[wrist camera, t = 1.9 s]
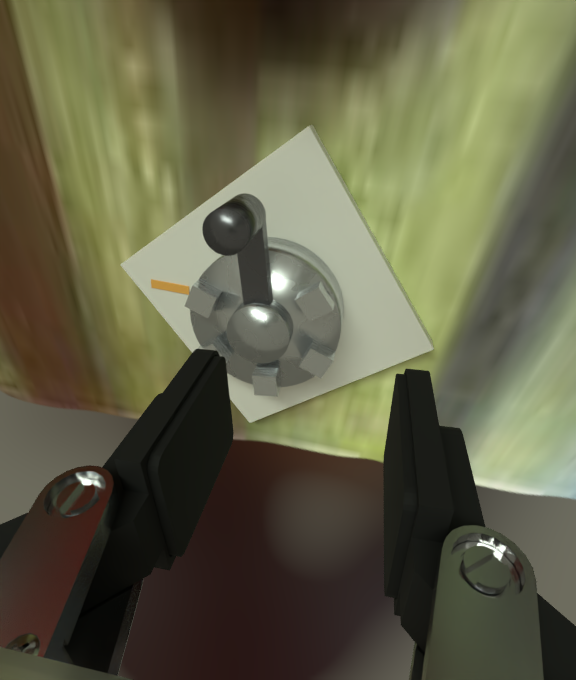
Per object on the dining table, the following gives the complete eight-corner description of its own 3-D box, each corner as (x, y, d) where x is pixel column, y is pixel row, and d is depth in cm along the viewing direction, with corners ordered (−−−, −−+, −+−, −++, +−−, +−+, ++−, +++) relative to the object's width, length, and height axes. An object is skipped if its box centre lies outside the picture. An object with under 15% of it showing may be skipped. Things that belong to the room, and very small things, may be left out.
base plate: (312, 124, 26) (308, 125, 25) (431, 339, 32) (434, 350, 31) (130, 258, 34) (119, 265, 33) (253, 412, 40) (249, 423, 39)
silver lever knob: (343, 369, 33) (333, 438, 27) (216, 362, 36) (177, 424, 29) (344, 178, 26) (331, 206, 19) (184, 184, 28) (122, 211, 21)
